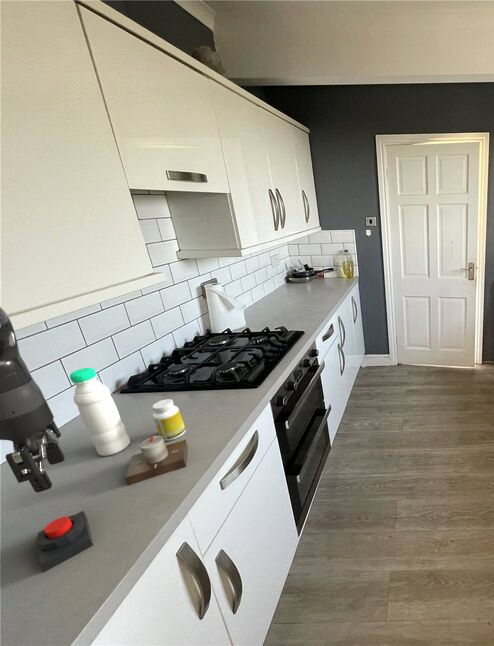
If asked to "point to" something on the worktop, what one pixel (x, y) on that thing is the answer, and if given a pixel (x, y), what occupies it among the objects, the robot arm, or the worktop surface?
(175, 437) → the pill bottle
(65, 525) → the light button
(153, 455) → the dimmer knob
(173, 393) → the worktop surface
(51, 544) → the switch block
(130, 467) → the dimmer panel
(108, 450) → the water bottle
